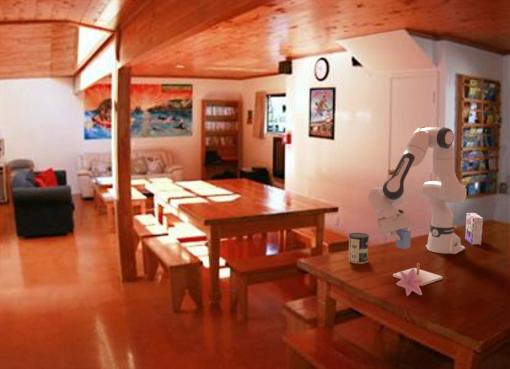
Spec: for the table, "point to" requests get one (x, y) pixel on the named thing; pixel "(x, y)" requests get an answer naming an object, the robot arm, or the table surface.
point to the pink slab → (421, 275)
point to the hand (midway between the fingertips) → (404, 238)
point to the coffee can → (358, 248)
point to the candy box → (474, 228)
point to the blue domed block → (403, 239)
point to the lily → (410, 282)
